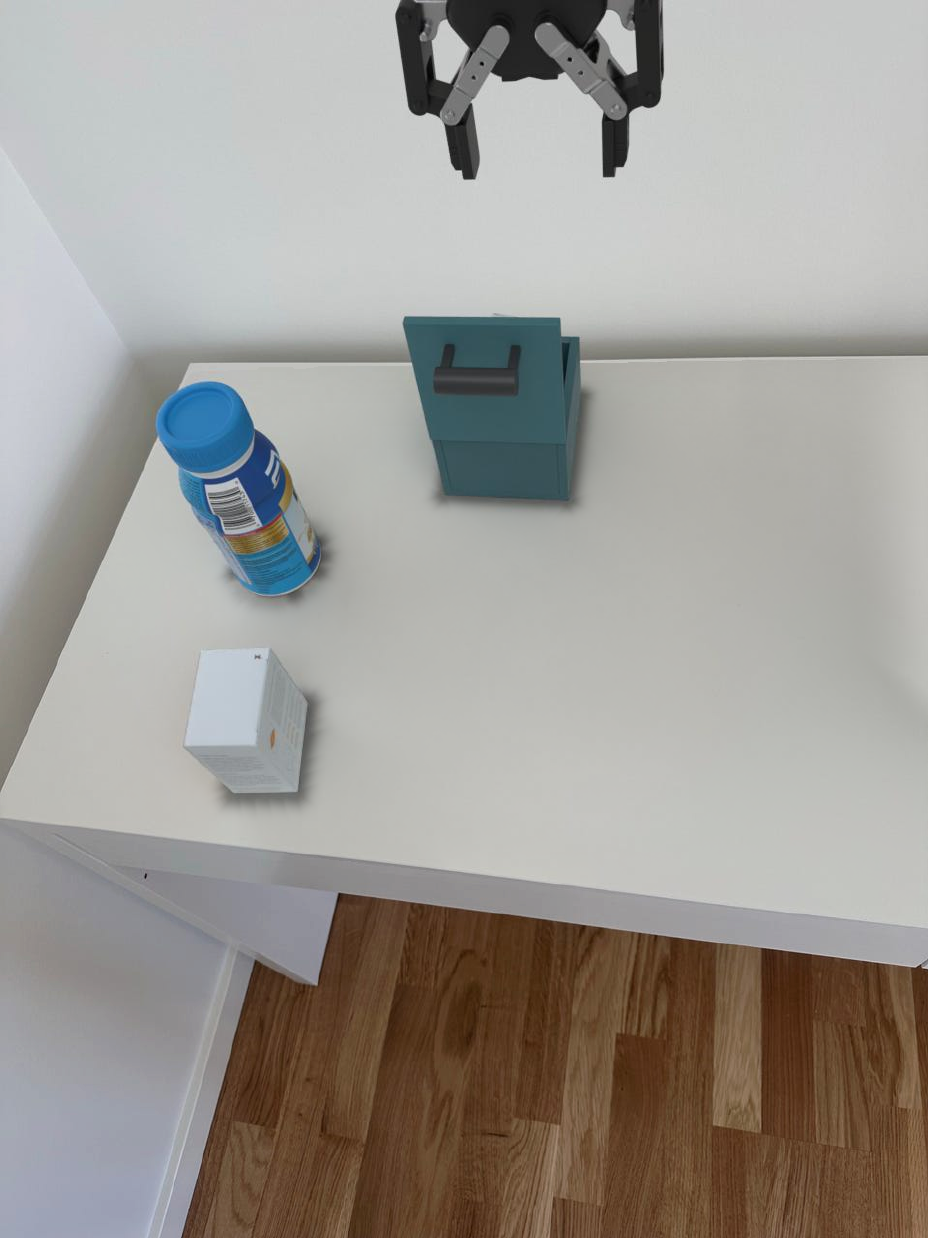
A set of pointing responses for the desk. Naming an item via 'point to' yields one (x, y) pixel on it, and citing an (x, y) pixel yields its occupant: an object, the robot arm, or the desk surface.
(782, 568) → the desk surface
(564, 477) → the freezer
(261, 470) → the beverage bottle
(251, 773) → the small box
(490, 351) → the freezer lid
